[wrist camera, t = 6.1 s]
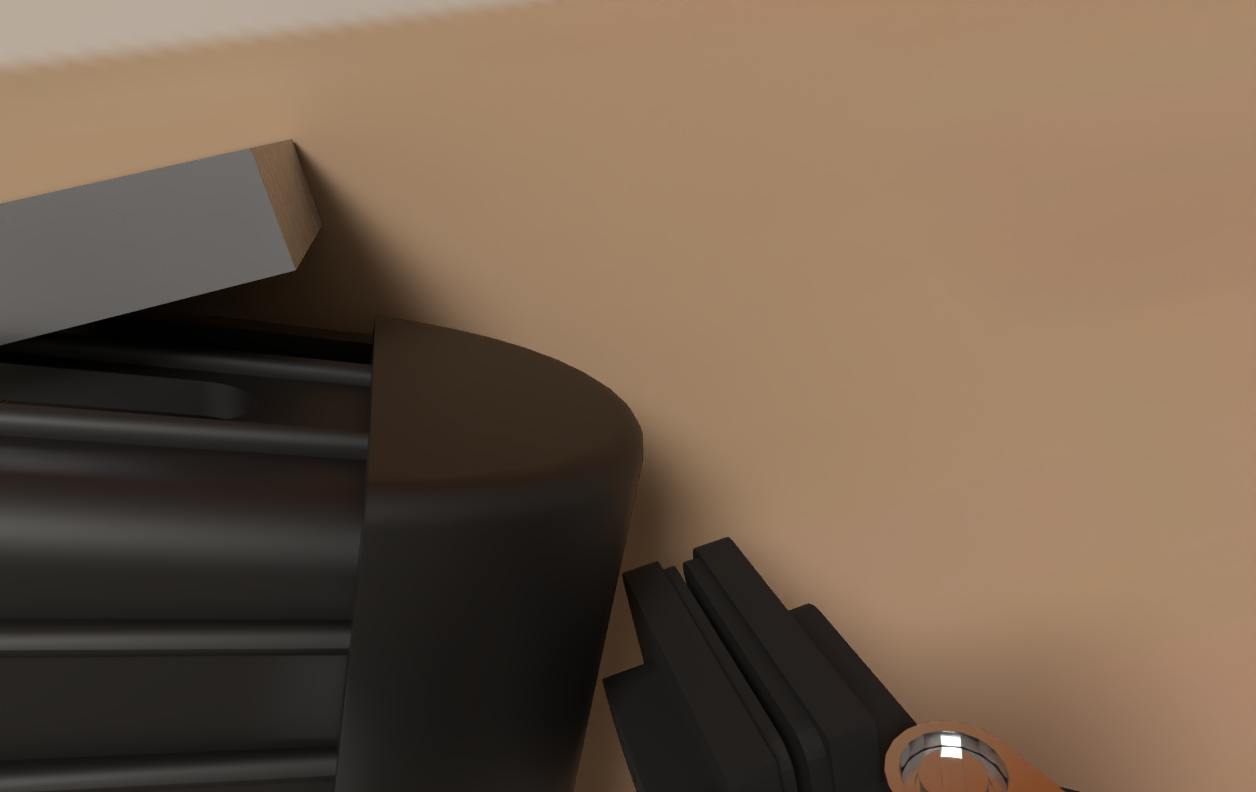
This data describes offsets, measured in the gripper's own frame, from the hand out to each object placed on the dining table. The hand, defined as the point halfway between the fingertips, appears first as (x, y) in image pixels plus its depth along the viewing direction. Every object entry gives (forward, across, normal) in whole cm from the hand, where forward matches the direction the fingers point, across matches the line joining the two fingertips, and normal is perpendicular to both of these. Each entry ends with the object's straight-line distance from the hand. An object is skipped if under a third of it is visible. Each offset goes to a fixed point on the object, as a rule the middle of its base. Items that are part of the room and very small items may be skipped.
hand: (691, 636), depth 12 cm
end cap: (+3, +6, -1) cm, 6 cm away
